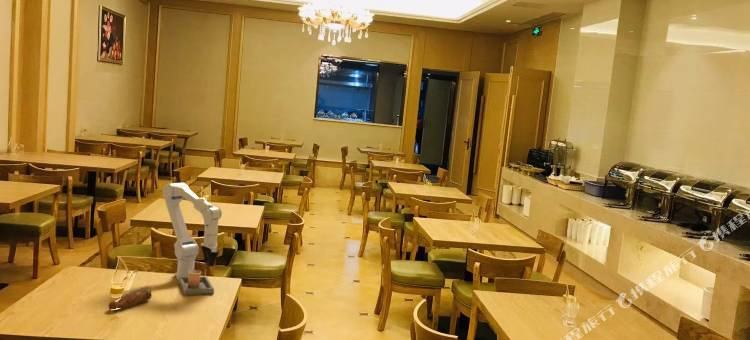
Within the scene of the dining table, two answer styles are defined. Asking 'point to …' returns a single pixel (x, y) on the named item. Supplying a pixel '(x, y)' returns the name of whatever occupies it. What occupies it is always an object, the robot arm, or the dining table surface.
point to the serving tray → (203, 289)
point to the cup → (194, 279)
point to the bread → (132, 298)
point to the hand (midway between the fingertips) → (209, 263)
